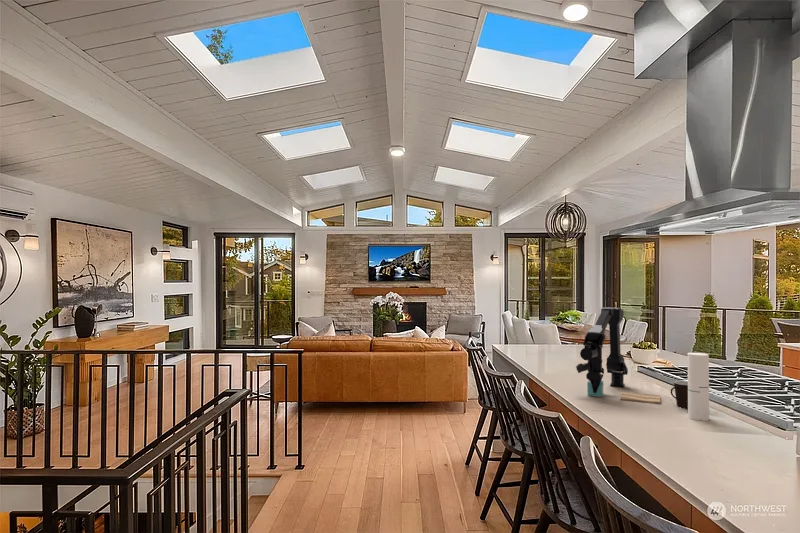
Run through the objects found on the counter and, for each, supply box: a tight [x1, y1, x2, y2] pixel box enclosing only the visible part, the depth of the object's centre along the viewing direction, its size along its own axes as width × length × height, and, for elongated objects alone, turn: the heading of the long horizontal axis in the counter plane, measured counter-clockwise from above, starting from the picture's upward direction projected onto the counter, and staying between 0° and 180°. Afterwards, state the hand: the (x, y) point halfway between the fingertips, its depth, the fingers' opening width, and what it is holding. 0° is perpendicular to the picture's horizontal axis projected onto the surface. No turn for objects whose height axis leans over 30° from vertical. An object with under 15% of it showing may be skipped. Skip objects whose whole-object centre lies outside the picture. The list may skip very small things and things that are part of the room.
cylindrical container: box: [687, 352, 710, 422], centre depth 201 cm, size 7×7×25 cm
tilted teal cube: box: [587, 380, 604, 398], centre depth 240 cm, size 6×6×6 cm
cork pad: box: [619, 391, 662, 405], centre depth 232 cm, size 14×16×1 cm
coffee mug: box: [670, 380, 688, 410], centre depth 218 cm, size 12×9×10 cm
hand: (595, 391), depth 240 cm, fingers closed on tilted teal cube, 6 cm apart
